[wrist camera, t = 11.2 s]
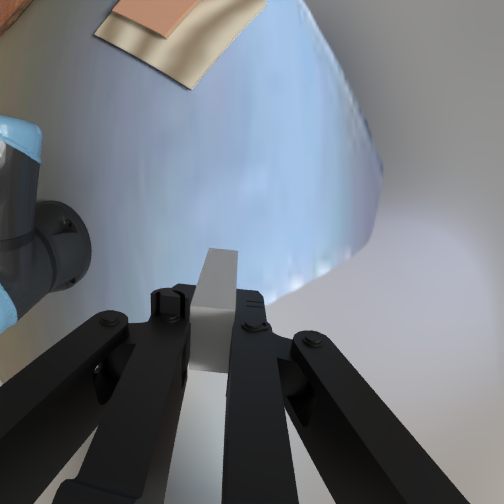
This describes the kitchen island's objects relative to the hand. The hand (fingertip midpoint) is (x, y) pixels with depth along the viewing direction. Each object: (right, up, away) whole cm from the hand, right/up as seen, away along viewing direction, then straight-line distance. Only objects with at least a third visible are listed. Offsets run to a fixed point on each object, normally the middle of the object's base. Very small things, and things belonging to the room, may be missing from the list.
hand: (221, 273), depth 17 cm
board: (-10, +37, +19) cm, 42 cm away
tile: (-12, +38, +17) cm, 43 cm away
